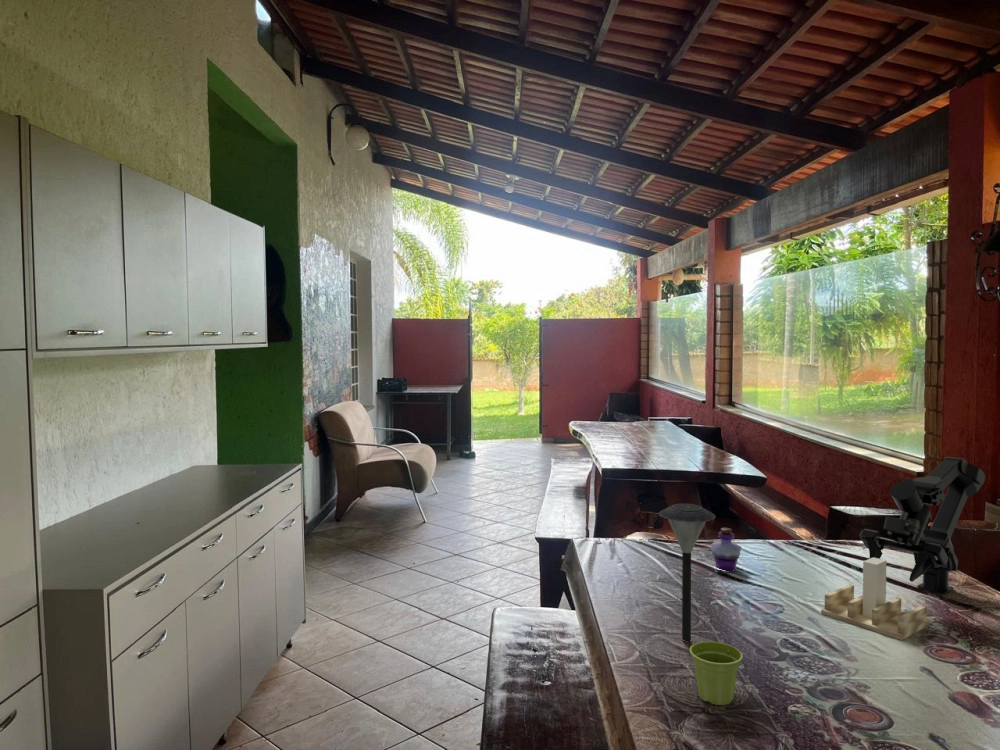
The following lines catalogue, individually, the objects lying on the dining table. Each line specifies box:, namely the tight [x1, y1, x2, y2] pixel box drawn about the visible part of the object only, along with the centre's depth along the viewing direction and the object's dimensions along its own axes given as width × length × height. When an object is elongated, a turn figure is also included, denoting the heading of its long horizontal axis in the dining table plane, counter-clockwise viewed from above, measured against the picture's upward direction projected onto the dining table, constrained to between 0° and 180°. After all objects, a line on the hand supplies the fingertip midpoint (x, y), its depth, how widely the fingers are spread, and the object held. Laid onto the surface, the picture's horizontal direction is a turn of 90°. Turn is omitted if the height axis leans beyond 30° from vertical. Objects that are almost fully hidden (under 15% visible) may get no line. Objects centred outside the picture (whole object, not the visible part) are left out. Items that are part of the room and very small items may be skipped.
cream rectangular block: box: [862, 557, 887, 618], centre depth 159 cm, size 5×3×13 cm, turn 126°
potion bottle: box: [710, 527, 742, 571], centre depth 196 cm, size 9×9×12 cm
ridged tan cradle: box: [820, 583, 931, 641], centre depth 160 cm, size 14×18×4 cm
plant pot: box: [689, 640, 744, 706], centre depth 125 cm, size 9×9×9 cm
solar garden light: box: [658, 503, 717, 642], centre depth 149 cm, size 12×12×30 cm
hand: (890, 575), depth 164 cm, fingers open, 9 cm apart
